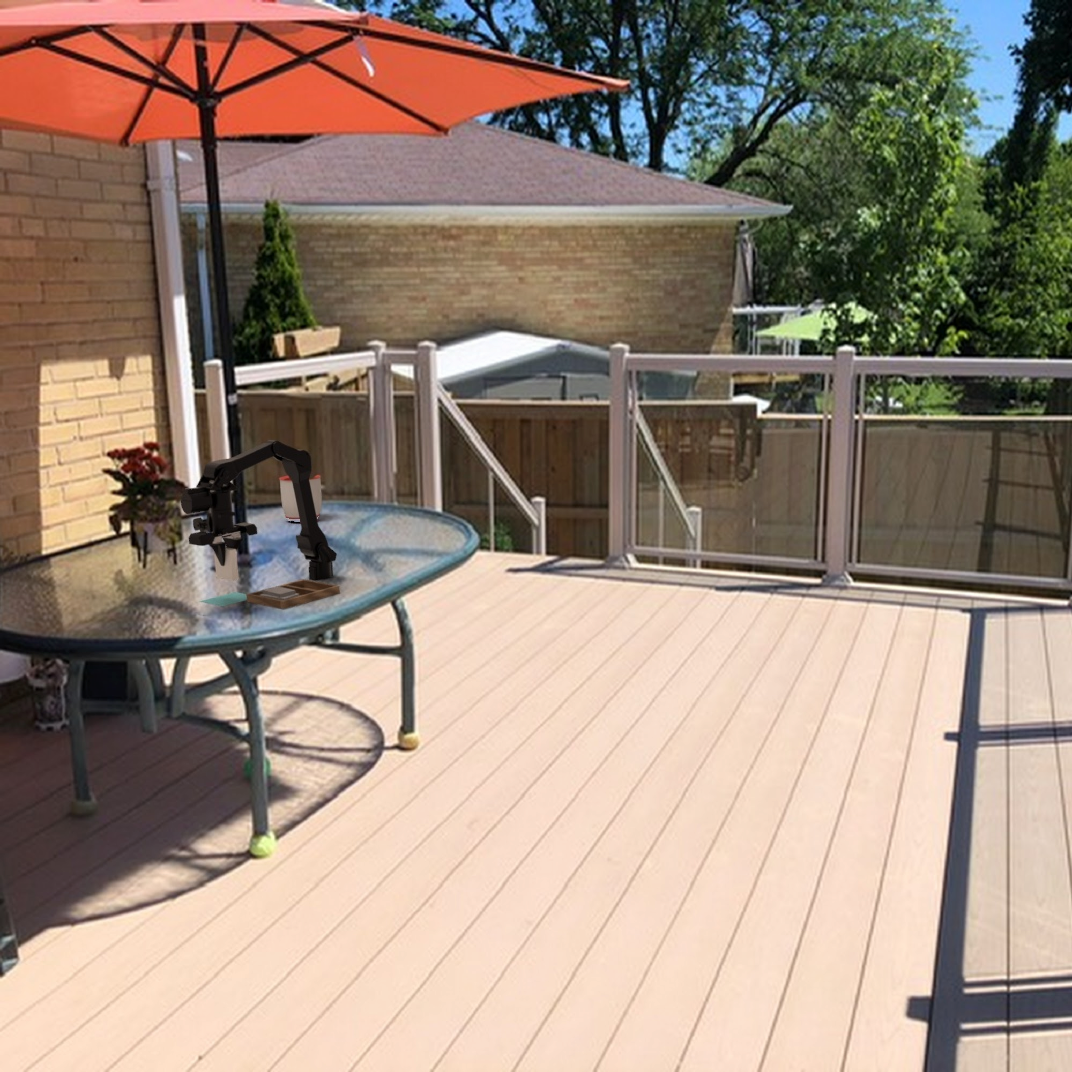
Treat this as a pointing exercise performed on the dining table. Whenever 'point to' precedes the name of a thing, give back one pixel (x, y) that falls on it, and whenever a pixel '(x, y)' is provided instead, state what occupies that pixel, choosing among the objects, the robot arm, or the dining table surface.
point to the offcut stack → (279, 593)
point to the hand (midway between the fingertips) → (226, 564)
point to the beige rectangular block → (227, 566)
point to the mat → (226, 599)
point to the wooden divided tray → (302, 587)
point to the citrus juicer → (290, 500)
